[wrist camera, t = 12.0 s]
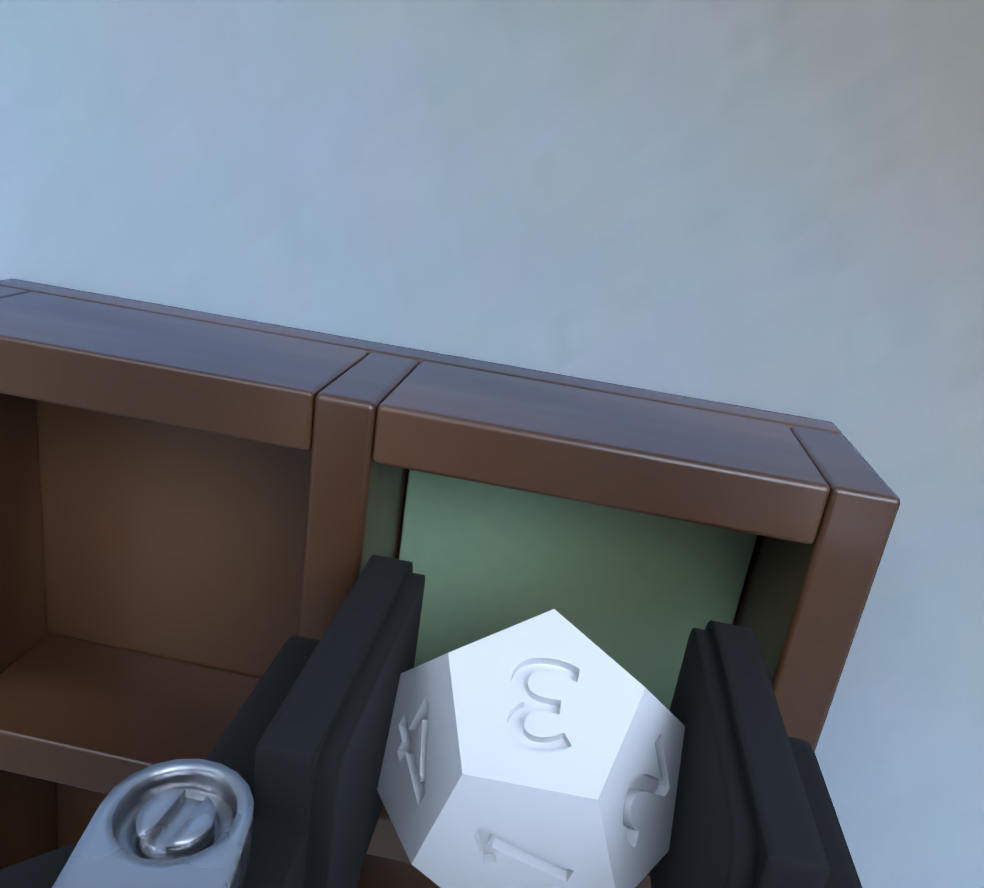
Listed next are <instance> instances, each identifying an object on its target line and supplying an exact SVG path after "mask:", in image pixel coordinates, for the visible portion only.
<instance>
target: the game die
mask: <svg viewBox="0 0 984 888" xmlns="http://www.w3.org/2000/svg"><path fill="white" fill-rule="evenodd" d="M684 731H685V726H684V725H683V724H682V723H681V722H680V721H679V720H678V719H677V718H676V717H675V716H674V715H673V714H672V713H671V712H670V711H669V710H668V709H667V708H666V707H665V706H664V705H663V704H662V703H661V702H660V701H659V700H658V699H657V698H656V697H655V696H654V695H653V694H651V693H650V692H649V691H648V690H647V689H646V688H645V687H644V686H643V685H642V684H641V683H640V682H638V681H637V680H636V679H635V678H634V677H633V676H631V675H630V674H629V673H628V672H627V671H626V670H624V669H623V668H622V667H621V666H620V665H619V664H617V663H616V662H615V661H614V660H613V659H612V658H611V657H609V656H608V655H607V654H606V653H605V652H604V651H602V650H601V649H600V648H599V647H598V646H597V645H595V644H594V643H593V642H592V641H591V640H590V639H589V638H587V637H586V636H585V635H584V634H583V633H582V632H580V631H579V630H578V629H577V628H576V627H575V626H573V625H572V624H571V623H570V622H569V621H568V620H566V619H565V618H564V617H563V616H562V615H561V614H560V613H558V612H557V611H556V610H555V609H553V610H550V611H548V612H545V613H543V614H541V615H538V616H536V617H533V618H531V619H529V620H526V621H524V622H521V623H519V624H516V625H514V626H512V627H509V628H507V629H504V630H502V631H500V632H497V633H495V634H492V635H490V636H487V637H485V638H483V639H480V640H478V641H475V642H473V643H470V644H468V645H466V646H463V647H461V648H458V649H456V650H454V651H451V652H449V653H446V654H444V655H442V656H440V657H437V658H435V659H433V660H431V661H428V662H426V663H424V664H421V665H419V666H417V667H415V668H412V669H410V670H408V671H406V672H403V673H401V675H400V680H399V685H398V690H397V694H396V699H395V704H394V709H393V714H392V719H391V724H390V729H389V734H388V738H387V743H386V748H385V753H384V758H383V763H382V768H381V773H380V778H379V782H378V787H377V791H378V793H379V796H380V798H381V800H382V802H383V804H384V806H385V808H386V811H387V813H388V815H389V817H390V819H391V821H392V823H393V826H394V828H395V830H396V832H397V834H398V836H399V838H400V841H401V843H402V845H403V847H404V849H405V851H406V854H407V856H408V858H409V860H410V862H411V864H412V865H413V866H415V867H416V868H417V869H418V870H419V871H421V872H422V873H423V874H424V875H426V876H427V877H428V878H429V879H430V880H432V881H433V882H434V883H435V884H437V885H438V886H439V887H440V888H635V887H636V886H637V885H638V884H639V883H640V882H641V881H642V880H643V879H644V877H645V876H646V875H647V874H648V873H649V872H650V871H651V870H652V869H653V868H654V866H655V865H656V864H657V863H658V862H659V861H660V860H661V859H662V858H663V857H664V855H665V854H666V853H667V852H668V851H669V846H670V839H671V831H672V823H673V816H674V808H675V800H676V793H677V785H678V777H679V769H680V762H681V754H682V746H683V739H684Z"/></svg>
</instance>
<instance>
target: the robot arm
mask: <svg viewBox="0 0 984 888" xmlns="http://www.w3.org/2000/svg"><path fill="white" fill-rule="evenodd" d="M424 587H425V575H422V574H417V573H413V564H412V562H410V561H405V560H400V559H394V558H389V557H384V556H379V555H372V556H371V557H370V559H369V561H368V562H367V564H366V566H365V567H364V569H363V571H362V572H361V574H360V576H359V577H358V579H357V580H356V582H355V584H354V585H353V587H352V589H351V590H350V592H349V594H348V595H347V597H346V599H345V600H344V602H343V604H342V605H341V607H340V609H339V610H338V612H337V613H336V615H335V617H334V618H333V620H332V622H331V623H330V625H329V627H328V628H327V630H326V632H325V633H324V635H323V637H322V638H321V640H316V639H311V638H306V637H301V636H296V635H294V636H291V637H290V638H289V639H288V640H287V641H286V642H285V644H284V645H283V647H282V648H281V650H280V651H279V653H278V654H277V656H276V657H275V658H274V660H273V661H272V663H271V664H270V666H269V667H268V669H267V670H266V672H265V673H264V675H263V676H262V678H261V679H260V681H259V682H258V684H257V685H256V687H255V688H254V689H253V691H252V692H251V694H250V695H249V697H248V698H247V700H246V701H245V703H244V704H243V706H242V707H241V709H240V710H239V712H238V713H237V715H236V716H235V718H234V719H233V721H232V722H231V723H230V725H229V726H228V728H227V729H226V731H225V732H224V734H223V735H222V737H221V738H220V740H219V741H218V743H217V744H216V746H215V747H214V749H213V750H212V752H211V753H210V754H209V756H208V757H207V759H206V760H204V759H175V760H171V761H166V762H161V763H157V764H153V765H151V766H149V767H146V768H144V769H142V770H140V771H137V772H135V773H133V774H131V775H130V776H129V777H127V778H126V779H124V780H123V781H122V782H120V783H119V784H118V785H116V786H115V787H114V788H113V789H112V790H111V791H110V793H109V794H108V795H107V796H106V798H105V799H104V800H103V801H102V802H101V804H100V805H99V807H98V809H97V810H96V812H95V814H94V816H93V817H92V819H91V821H90V823H89V824H88V826H87V828H86V830H85V831H84V833H83V835H82V836H81V838H80V840H79V841H78V842H75V843H72V844H69V845H67V846H64V847H61V848H58V849H56V850H53V851H50V852H47V853H45V854H42V855H39V856H36V857H34V858H31V859H28V860H25V861H23V862H20V863H17V864H14V865H12V866H9V867H6V868H3V869H1V870H0V888H355V885H356V882H357V879H358V876H359V873H360V871H361V868H362V865H363V862H364V859H365V856H366V853H367V851H368V848H369V845H370V842H371V839H372V836H373V833H374V831H375V828H376V825H377V822H378V819H379V816H380V813H381V811H382V808H383V805H384V804H383V802H382V800H381V798H380V796H379V793H378V791H377V787H378V782H379V778H380V773H381V768H382V763H383V758H384V753H385V748H386V743H387V738H388V734H389V729H390V724H391V719H392V714H393V709H394V704H395V699H396V694H397V690H398V685H399V680H400V675H401V673H403V672H406V671H408V670H410V669H412V668H414V663H415V656H416V648H417V640H418V633H419V625H420V617H421V610H422V602H423V595H424ZM669 711H670V712H671V713H672V714H673V715H674V716H675V717H676V718H677V719H678V720H679V721H680V722H681V723H682V724H683V725H684V726H685V731H684V739H683V746H682V754H681V762H680V769H679V777H678V785H677V793H676V800H675V808H674V816H673V823H672V831H671V839H670V846H669V851H668V852H667V853H666V854H665V855H664V857H663V858H662V859H661V860H660V861H659V862H658V863H657V864H656V865H655V866H654V868H653V869H652V870H651V871H650V880H651V888H862V886H861V883H860V880H859V878H858V875H857V872H856V869H855V866H854V863H853V861H852V858H851V855H850V852H849V849H848V846H847V844H846V841H845V838H844V835H843V832H842V829H841V827H840V824H839V821H838V818H837V815H836V812H835V810H834V807H833V804H832V801H831V798H830V795H829V793H828V790H827V787H826V784H825V781H824V778H823V776H822V773H821V770H820V767H819V764H818V761H817V759H816V756H815V753H814V751H813V749H812V747H811V745H810V743H809V742H807V741H806V740H804V739H799V738H794V737H789V736H788V735H787V732H786V729H785V726H784V723H783V720H782V716H781V713H780V710H779V707H778V704H777V701H776V697H775V694H774V691H773V688H772V685H771V682H770V678H769V675H768V672H767V669H766V666H765V663H764V659H763V656H762V653H761V650H760V647H759V644H758V641H757V637H756V634H755V632H754V630H753V629H752V628H748V627H743V626H738V625H733V624H728V623H722V622H717V621H712V620H710V621H709V622H708V624H707V626H706V628H705V630H703V629H697V628H693V629H692V630H691V632H690V635H689V638H688V642H687V646H686V649H685V653H684V657H683V661H682V664H681V668H680V672H679V676H678V680H677V683H676V687H675V691H674V695H673V699H672V702H671V706H670V710H669Z"/></svg>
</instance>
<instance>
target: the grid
mask: <svg viewBox="0 0 984 888" xmlns="http://www.w3.org/2000/svg"><path fill="white" fill-rule="evenodd" d="M899 505H900V500H899V498H898V497H897V496H896V495H895V493H894V492H893V491H892V490H891V489H890V488H889V486H888V485H887V484H886V483H885V482H884V481H883V480H882V478H881V477H880V476H879V475H878V474H877V473H876V472H875V470H874V469H873V468H872V467H871V466H870V465H869V464H868V462H867V461H866V460H865V459H864V458H863V457H862V456H861V454H860V453H859V452H858V451H857V450H856V449H855V448H854V446H853V445H852V444H851V443H850V442H849V441H848V440H847V438H846V437H845V436H843V435H842V433H841V431H840V430H839V429H838V428H837V427H836V426H835V425H834V424H833V423H832V422H828V421H822V420H816V419H811V418H805V417H799V416H793V415H788V414H782V413H776V412H771V411H765V410H759V409H753V408H748V407H742V406H736V405H731V404H725V403H719V402H713V401H708V400H702V399H696V398H691V397H685V396H679V395H673V394H668V393H662V392H656V391H651V390H645V389H639V388H633V387H628V386H622V385H616V384H611V383H605V382H599V381H593V380H588V379H582V378H576V377H571V376H565V375H559V374H553V373H548V372H542V371H536V370H531V369H525V368H519V367H513V366H508V365H502V364H496V363H491V362H485V361H479V360H473V359H468V358H462V357H456V356H451V355H445V354H439V353H433V352H428V351H422V350H416V349H411V348H405V347H399V346H393V345H388V344H382V343H376V342H371V341H365V340H359V339H353V338H348V337H342V336H336V335H331V334H325V333H319V332H313V331H308V330H302V329H296V328H291V327H285V326H279V325H273V324H268V323H262V322H256V321H251V320H245V319H239V318H234V317H228V316H222V315H216V314H211V313H205V312H199V311H194V310H188V309H182V308H176V307H171V306H165V305H159V304H154V303H148V302H142V301H136V300H131V299H125V298H119V297H114V296H108V295H102V294H96V293H91V292H85V291H79V290H74V289H68V288H62V287H56V286H51V285H45V284H39V283H34V282H28V281H22V280H16V279H8V280H2V281H0V870H1V869H3V868H6V867H9V866H12V865H14V864H17V863H20V862H23V861H25V860H28V859H31V858H34V857H36V856H39V855H42V854H45V853H47V852H50V851H53V850H56V849H58V848H61V847H64V846H67V845H69V844H72V843H75V842H78V841H79V840H80V838H81V836H82V835H83V833H84V831H85V830H86V828H87V826H88V824H89V823H90V821H91V819H92V817H93V816H94V814H95V812H96V810H97V809H98V807H99V805H100V804H101V802H102V801H103V800H104V799H105V798H106V796H107V795H108V794H109V793H110V791H111V790H112V789H113V788H114V787H115V786H116V785H118V784H119V783H120V782H122V781H123V780H124V779H126V778H127V777H129V776H130V775H131V774H133V773H135V772H137V771H140V770H142V769H144V768H146V767H149V766H151V765H153V764H157V763H161V762H166V761H171V760H175V759H204V760H206V759H207V757H208V756H209V754H210V753H211V752H212V750H213V749H214V747H215V746H216V744H217V743H218V741H219V740H220V738H221V737H222V735H223V734H224V732H225V731H226V729H227V728H228V726H229V725H230V723H231V722H232V721H233V719H234V718H235V716H236V715H237V713H238V712H239V710H240V709H241V707H242V706H243V704H244V703H245V701H246V700H247V698H248V697H249V695H250V694H251V692H252V691H253V689H254V688H255V687H256V685H257V684H258V682H259V681H260V679H261V678H262V676H263V675H264V673H265V672H266V670H267V669H268V667H269V666H270V664H271V663H272V661H273V660H274V658H275V657H276V656H277V654H278V653H279V651H280V650H281V648H282V647H283V645H284V644H285V642H286V641H287V640H288V639H289V638H290V637H291V636H294V635H296V636H301V637H306V638H311V639H316V640H321V638H322V637H323V635H324V633H325V632H326V630H327V628H328V627H329V625H330V623H331V622H332V620H333V618H334V617H335V615H336V613H337V612H338V610H339V609H340V607H341V605H342V604H343V602H344V600H345V599H346V597H347V595H348V594H349V592H350V590H351V589H352V587H353V585H354V584H355V582H356V580H357V579H358V577H359V576H360V574H361V572H362V571H363V569H364V567H365V566H366V564H367V562H368V561H369V559H370V557H371V556H372V555H379V556H384V557H389V558H394V559H400V560H405V561H410V562H412V564H413V573H417V574H422V575H425V587H424V595H423V602H422V610H421V617H420V625H419V633H418V640H417V648H416V656H415V663H414V668H415V667H417V666H419V665H421V664H424V663H426V662H428V661H431V660H433V659H435V658H437V657H440V656H442V655H444V654H446V653H449V652H451V651H454V650H456V649H458V648H461V647H463V646H466V645H468V644H470V643H473V642H475V641H478V640H480V639H483V638H485V637H487V636H490V635H492V634H495V633H497V632H500V631H502V630H504V629H507V628H509V627H512V626H514V625H516V624H519V623H521V622H524V621H526V620H529V619H531V618H533V617H536V616H538V615H541V614H543V613H545V612H548V611H550V610H553V609H555V610H556V611H557V612H558V613H560V614H561V615H562V616H563V617H564V618H565V619H566V620H568V621H569V622H570V623H571V624H572V625H573V626H575V627H576V628H577V629H578V630H579V631H580V632H582V633H583V634H584V635H585V636H586V637H587V638H589V639H590V640H591V641H592V642H593V643H594V644H595V645H597V646H598V647H599V648H600V649H601V650H602V651H604V652H605V653H606V654H607V655H608V656H609V657H611V658H612V659H613V660H614V661H615V662H616V663H617V664H619V665H620V666H621V667H622V668H623V669H624V670H626V671H627V672H628V673H629V674H630V675H631V676H633V677H634V678H635V679H636V680H637V681H638V682H640V683H641V684H642V685H643V686H644V687H645V688H646V689H647V690H648V691H649V692H650V693H651V694H653V695H654V696H655V697H656V698H657V699H658V700H659V701H660V702H661V703H662V704H663V705H664V706H665V707H666V708H667V709H668V710H670V706H671V702H672V699H673V695H674V691H675V687H676V683H677V680H678V676H679V672H680V668H681V664H682V661H683V657H684V653H685V649H686V646H687V642H688V638H689V635H690V632H691V630H692V629H693V628H697V629H703V630H705V628H706V626H707V624H708V622H709V621H710V620H712V621H717V622H722V623H728V624H733V625H738V626H743V627H748V628H752V629H753V630H754V632H755V634H756V637H757V641H758V644H759V647H760V650H761V653H762V656H763V659H764V663H765V666H766V669H767V672H768V675H769V678H770V682H771V685H772V688H773V691H774V694H775V697H776V701H777V704H778V707H779V710H780V713H781V716H782V720H783V723H784V726H785V729H786V732H787V735H788V736H789V737H794V738H799V739H804V740H806V741H807V742H809V743H810V745H811V747H812V749H813V751H815V749H816V746H817V743H818V740H819V737H820V734H821V731H822V728H823V725H824V722H825V720H826V717H827V714H828V711H829V708H830V705H831V702H832V699H833V696H834V693H835V691H836V688H837V685H838V682H839V679H840V676H841V673H842V670H843V667H844V665H845V662H846V659H847V656H848V653H849V650H850V647H851V644H852V641H853V638H854V636H855V633H856V630H857V627H858V624H859V621H860V618H861V615H862V612H863V609H864V607H865V604H866V601H867V598H868V595H869V592H870V589H871V586H872V583H873V580H874V578H875V575H876V572H877V569H878V566H879V563H880V560H881V557H882V554H883V551H884V549H885V546H886V543H887V540H888V537H889V534H890V531H891V528H892V525H893V523H894V520H895V517H896V514H897V511H898V508H899ZM355 888H440V887H439V886H438V885H437V884H435V883H434V882H433V881H432V880H430V879H429V878H428V877H427V876H426V875H424V874H423V873H422V872H421V871H419V870H418V869H417V868H416V867H415V866H413V865H412V864H411V862H410V860H409V858H408V856H407V854H406V851H405V849H404V847H403V845H402V843H401V841H400V838H399V836H398V834H397V832H396V830H395V828H394V826H393V823H392V821H391V819H390V817H389V815H388V813H387V811H386V808H385V806H384V805H383V808H382V811H381V813H380V816H379V819H378V822H377V825H376V828H375V831H374V833H373V836H372V839H371V842H370V845H369V848H368V851H367V853H366V856H365V859H364V862H363V865H362V868H361V871H360V873H359V876H358V879H357V882H356V885H355ZM635 888H651V880H650V872H649V873H648V874H647V875H646V876H645V877H644V879H643V880H642V881H641V882H640V883H639V884H638V885H637V886H636V887H635Z"/></svg>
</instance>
